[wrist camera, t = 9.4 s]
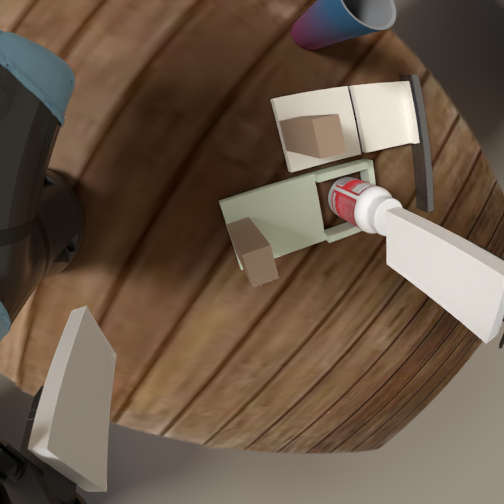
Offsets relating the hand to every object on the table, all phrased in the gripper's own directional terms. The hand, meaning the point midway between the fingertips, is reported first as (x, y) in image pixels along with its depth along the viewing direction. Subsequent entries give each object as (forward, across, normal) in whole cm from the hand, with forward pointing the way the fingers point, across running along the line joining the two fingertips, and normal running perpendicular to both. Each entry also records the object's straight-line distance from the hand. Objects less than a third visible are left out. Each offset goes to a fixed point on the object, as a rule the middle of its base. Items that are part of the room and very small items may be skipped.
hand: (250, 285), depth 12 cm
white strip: (+28, +29, +3) cm, 40 cm away
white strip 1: (+28, +17, +2) cm, 33 cm away
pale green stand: (+28, +13, -9) cm, 32 cm away
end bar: (+28, +35, -2) cm, 45 cm away
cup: (+28, +19, +16) cm, 38 cm away
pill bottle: (+28, +20, -8) cm, 35 cm away
